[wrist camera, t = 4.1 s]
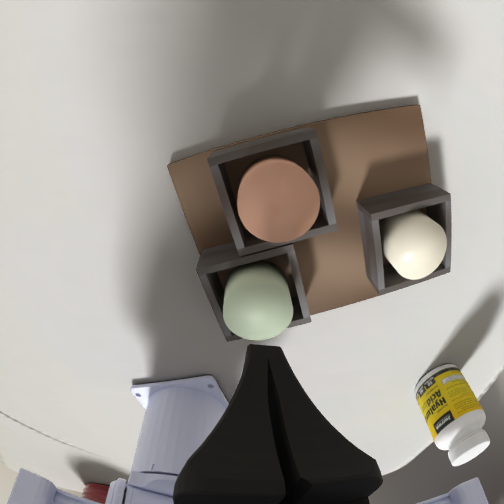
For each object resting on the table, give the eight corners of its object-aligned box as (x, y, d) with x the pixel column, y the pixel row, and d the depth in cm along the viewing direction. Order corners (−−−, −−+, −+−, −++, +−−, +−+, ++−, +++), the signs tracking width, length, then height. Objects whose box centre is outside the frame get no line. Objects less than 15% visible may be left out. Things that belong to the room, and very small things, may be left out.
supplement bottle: (424, 365, 25) (465, 446, 16) (464, 358, 25) (507, 428, 16) (405, 401, 27) (435, 476, 18) (444, 393, 27) (478, 459, 18)
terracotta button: (315, 213, 16) (326, 231, 14) (249, 230, 17) (250, 251, 14) (299, 147, 15) (310, 154, 13) (229, 165, 15) (226, 176, 13)
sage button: (293, 304, 19) (299, 331, 16) (236, 318, 19) (235, 346, 17) (279, 252, 17) (284, 276, 15) (217, 268, 18) (212, 294, 15)
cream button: (426, 251, 18) (446, 269, 16) (379, 265, 19) (394, 287, 16) (424, 199, 17) (446, 213, 15) (373, 213, 17) (391, 229, 15)
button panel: (429, 273, 20) (449, 295, 18) (232, 328, 22) (231, 357, 19) (415, 104, 15) (441, 106, 13) (169, 163, 17) (155, 174, 14)
